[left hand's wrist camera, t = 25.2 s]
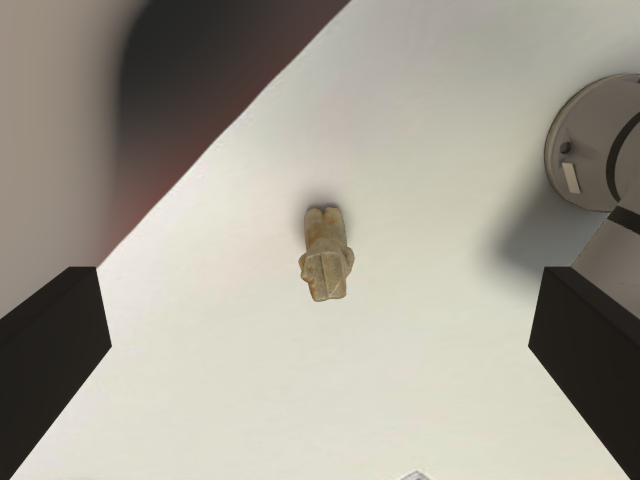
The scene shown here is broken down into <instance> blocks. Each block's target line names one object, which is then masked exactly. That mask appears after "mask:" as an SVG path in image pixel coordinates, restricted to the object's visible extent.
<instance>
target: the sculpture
mask: <svg viewBox="0 0 640 480" xmlns="http://www.w3.org/2000/svg"><path fill="white" fill-rule="evenodd" d="M305 242H306V249H307V252H306V253H305V254H303V255H302V256H301V257H300V259H299V265H300V268H301V270H302V272H301V278H302V279H303V280H304V281H306V282H307V283H308V284H309V289H310V293H311V296H312V298H313V300H314V301H316V302H321V301H326V300H328V299H341V298H343V297H345V296H346V277H347V276H348V275H349V273H350V272H351V270H352V269H351V268H352V266H353V263H354V259H355V258H354V254H353V251H352V249H351V248H349V247H347V240H346V233H345V226H344V221H343V217H342V213H341V211H340V210H339V209H338V208H331V207H327V208H326V209H325V212H324V213H322V212H321V211H320V210H318V209H311V210H309V211H308V212H307V213H306V215H305Z"/></svg>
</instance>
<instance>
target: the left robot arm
mask: <svg viewBox="0 0 640 480" xmlns="http://www.w3.org/2000/svg"><path fill="white" fill-rule="evenodd" d="M545 167H546V172H547V175H548V178H549V180H550V182H551V184H552V186H553V187H554V189H555V190H556V191H557V192H558V193H559V194H560V195H561V196H562V197H563V198H564V199H566V200H567V201H569V202H571V203H573V204H575V205H577V206H579V207H581V208H584V209H586V210H590V211H596V212H612V213H611V214H610V215H609V217H608V218H607V219H606V220H605V221H604V223H603V224H602V225H601V227H600V228H599V229H598V231H597V232H596V233H595V235H594V236H593V237H592V239H591V240H590V241H589V243H588V244H587V246H586V247H585V248H584V250H583V251H582V252H581V254H580V255H579V256H578V258H577V259H576V260H575V262H574V263H573V264H572V266H571V267H544V272H543V276H542V281H541V286H540V291H539V296H538V301H537V306H536V310H535V315H534V320H533V325H532V330H531V335H530V340H529V344H528V347H529V348H530V350H531V351H532V352H533V353H534V355H535V356H536V357H537V359H538V360H539V361H540V363H541V364H542V365H543V366H544V368H545V369H546V370H547V372H548V373H549V374H550V376H551V377H552V378H553V379H554V381H555V382H556V383H557V385H558V386H559V387H560V389H561V390H562V391H563V392H564V394H565V395H566V396H567V398H568V399H569V400H570V402H571V403H572V404H573V405H574V407H575V408H576V409H577V411H578V412H579V413H580V415H581V416H582V417H583V418H584V420H585V421H586V422H587V424H588V425H589V426H590V428H591V429H592V430H593V432H594V433H595V434H596V435H597V437H598V438H599V439H600V441H601V442H602V443H603V445H604V446H605V447H606V448H607V450H608V451H609V452H610V454H611V455H612V456H613V458H614V459H615V460H616V461H617V463H618V464H619V465H620V467H621V468H622V469H623V471H624V472H625V473H626V474H627V476H628V477H629V478H630V480H640V235H639V234H640V74H622V75H615V76H611V77H607V78H604V79H602V80H599V81H597V82H595V83H593V84H591V85H589V86H588V87H586V88H585V89H583V90H582V91H580V92H579V93H578V94H577V95H575V96H574V97H573V98H572V99H571V100H570V101H569V102H568V103H567V104H566V105H565V106H564V108H563V109H562V110H561V112H560V113H559V115H558V116H557V118H556V119H555V121H554V123H553V125H552V127H551V129H550V132H549V135H548V138H547V142H546V147H545ZM621 225H622V226H621ZM623 226H624V227H623ZM627 228H628V229H627ZM629 229H630V230H629ZM631 230H632V231H631ZM633 231H634V232H633ZM111 347H112V344H111V340H110V335H109V330H108V325H107V320H106V315H105V310H104V306H103V301H102V296H101V291H100V286H99V281H98V276H97V272H96V267H68V268H67V269H66V270H64V271H63V272H62V273H60V274H59V275H58V276H56V277H55V278H54V279H53V280H51V281H50V282H49V283H47V284H46V285H45V286H43V287H42V288H41V289H39V290H38V291H37V292H35V293H34V294H33V295H32V296H30V297H29V298H28V299H26V300H25V301H24V302H22V303H21V304H20V305H18V306H17V307H16V308H15V309H13V310H12V311H11V312H9V313H8V314H7V315H5V316H4V317H3V318H1V319H0V480H10V478H11V477H12V476H13V474H14V473H15V472H16V471H17V469H18V468H19V467H20V465H21V464H22V463H23V461H24V460H25V459H26V458H27V456H28V455H29V454H30V452H31V451H32V450H33V448H34V447H35V446H36V445H37V443H38V442H39V441H40V439H41V438H42V437H43V435H44V434H45V433H46V432H47V430H48V429H49V428H50V426H51V425H52V424H53V422H54V421H55V420H56V418H57V417H58V416H59V415H60V413H61V412H62V411H63V409H64V408H65V407H66V405H67V404H68V403H69V402H70V400H71V399H72V398H73V396H74V395H75V394H76V392H77V391H78V390H79V389H80V387H81V386H82V385H83V383H84V382H85V381H86V379H87V378H88V377H89V376H90V374H91V373H92V372H93V370H94V369H95V368H96V366H97V365H98V364H99V363H100V361H101V360H102V359H103V357H104V356H105V355H106V353H107V352H108V351H109V350H110V348H111Z"/></svg>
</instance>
